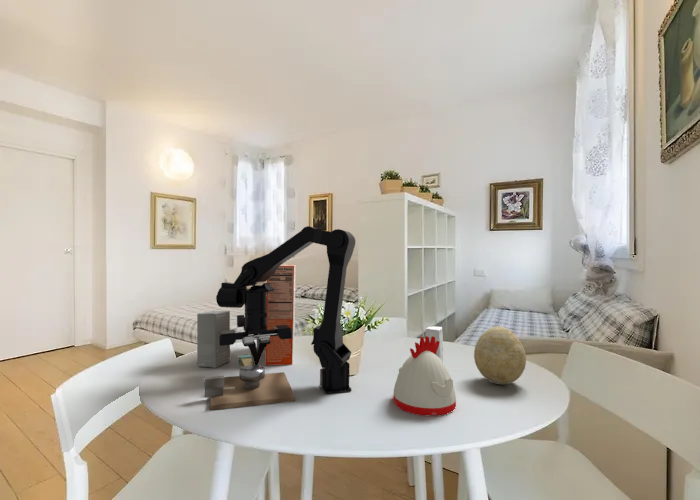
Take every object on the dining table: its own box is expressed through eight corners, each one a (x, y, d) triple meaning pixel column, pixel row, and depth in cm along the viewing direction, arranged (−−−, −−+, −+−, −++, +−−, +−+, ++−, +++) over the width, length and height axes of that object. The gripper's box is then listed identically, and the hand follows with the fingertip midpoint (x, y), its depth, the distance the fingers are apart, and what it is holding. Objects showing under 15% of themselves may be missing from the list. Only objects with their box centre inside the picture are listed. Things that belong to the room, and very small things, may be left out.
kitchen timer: (469, 408, 79) (469, 339, 79) (421, 421, 72) (421, 346, 73) (426, 388, 91) (427, 328, 91) (381, 397, 84) (382, 333, 85)
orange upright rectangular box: (271, 346, 131) (273, 264, 132) (294, 346, 132) (295, 264, 133) (265, 365, 108) (267, 265, 109) (292, 364, 109) (294, 266, 110)
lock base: (283, 374, 100) (283, 356, 100) (294, 400, 82) (295, 378, 82) (208, 380, 94) (208, 361, 94) (202, 411, 75) (203, 387, 76)
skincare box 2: (440, 372, 104) (440, 330, 104) (424, 370, 106) (425, 328, 106) (443, 366, 109) (443, 326, 110) (428, 364, 111) (429, 325, 112)
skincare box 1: (216, 368, 104) (217, 313, 104) (194, 366, 105) (195, 312, 106) (231, 360, 112) (232, 310, 113) (210, 359, 114) (212, 309, 114)
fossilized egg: (477, 372, 104) (477, 320, 104) (525, 379, 98) (526, 324, 99) (470, 386, 93) (471, 328, 93) (525, 395, 87) (526, 333, 87)
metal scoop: (267, 379, 86) (267, 370, 86) (241, 383, 83) (241, 373, 83) (255, 361, 100) (255, 353, 100) (233, 364, 98) (233, 356, 98)
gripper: (284, 302, 107) (284, 354, 107) (217, 306, 100) (218, 362, 100) (292, 307, 97) (293, 365, 97) (219, 312, 90) (219, 375, 90)
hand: (256, 366), depth 96 cm, fingers closed
